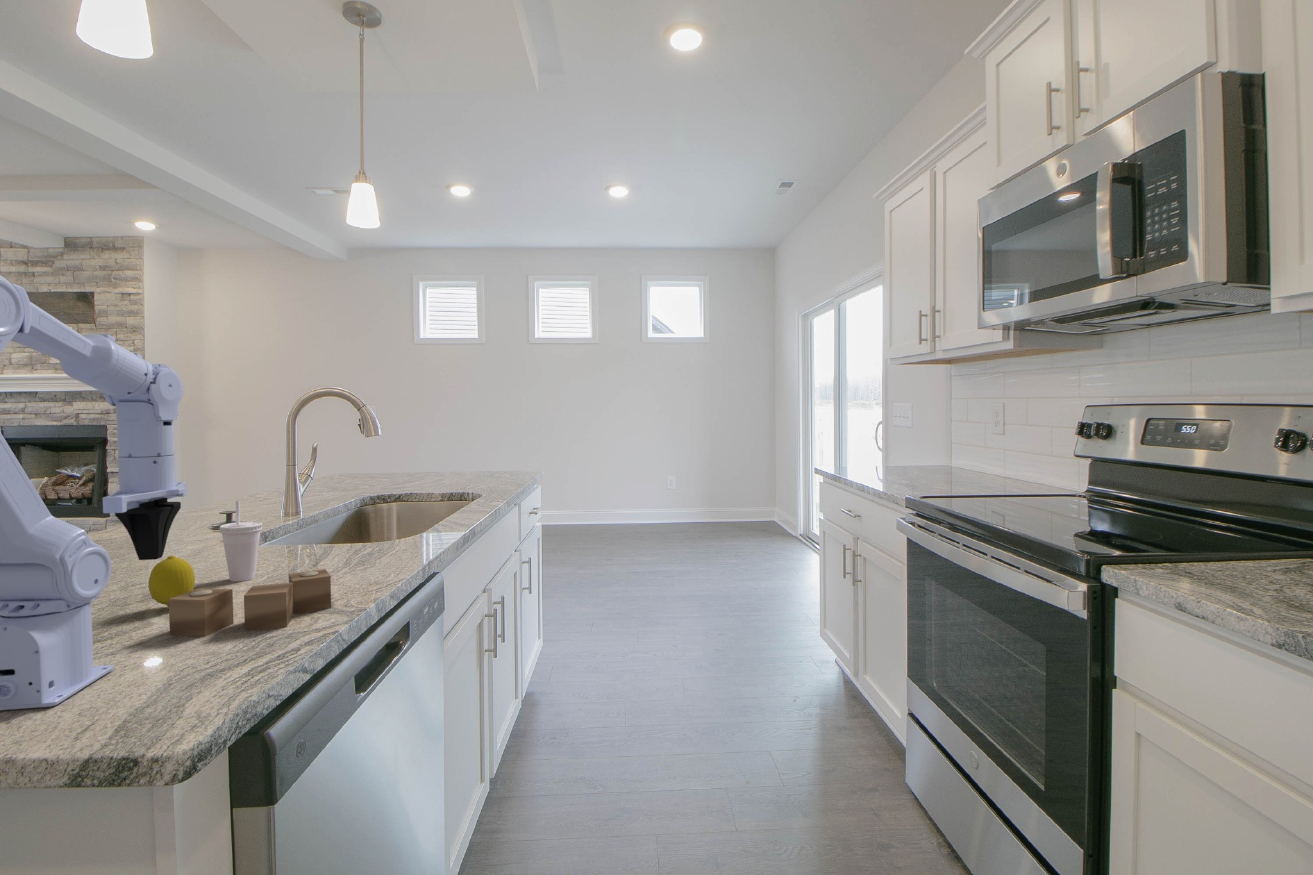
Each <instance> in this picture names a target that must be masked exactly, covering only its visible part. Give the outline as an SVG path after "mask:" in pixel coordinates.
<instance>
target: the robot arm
mask: <svg viewBox="0 0 1313 875" xmlns="http://www.w3.org/2000/svg"><path fill="white" fill-rule="evenodd" d="M11 341H12V342H15V343H17V344H19V345H22V346H24V347H26V348H29V349H31V350H34V351H35V352H38V353H41V354H43V355H45V356H48V357H51V358H53V359H55V360H58V361H59V365H60V369H61V370H62V372H63V373H64V374H65V375H67V377H70V378H72V379H73V380H76V381H78V382H80V383H83V384H85V385H87V386H89V387H91V388H92V389H95V390H97V391H99V392H101V394H102V395H103V397H104V399H105V401H106V403H108V405H110V406H111V407H115V414H116V415H115V416H116V433H117V434H116V436H117V437H116V439H117V440H116V441H117V456H118V457H117V461H118V462H117V464H118V465H117V466H118V467H117V468H118V485H119V486H118V487H119V488H118V489H119V490H117V491H116V492H114V493H111V494H110V495H106V496H103V497H102V512H103V513H102V514H114V515H115V517H116V518H117V519H118V520H119V521H120V523H121V524H122V525H123V527H124V528H125V529H126V531H127V533H128V535H129V537H130V539H131V542H132V545H133V548H134V550H135V553H136V555H137V558H138V560H139V561H150V560H151V561H152V560H159V559H162V558H163V555H164V552H165V548H166V544H167V540H168V536H169V532H170V530H171V527H172V524H173V522H174V520H175V518H176V516H177V515H178V513H179V511H180V510H181V507H182V503H181V501H168V500H170V499H173V498H177V497H179V498H183V497H185V496H187V495H188V493H187V482H185V481H184V482H176V464H175V463H176V462H175V461H176V460H175V438H174V437H175V436H174V434H175V433H174V421H176V420H177V419H178V416H179V405H180V403H181V401H182V399H183V396H184V390H185V388H184V387H185V386H183V385H182V380H181V377H180V376H179V373H178V372H177V371H176V370H174V369H173V368H171V367H170V366H168V365H166V364H162V363H150V362H149V361H148V360H146V359H144V358H143V356H142V355H141V354H139V353H137V352H131V351H130V350H128V349H126V348H125V347H123V346H121V345H119V344H118V343H116V338H115V337H113V336H112V335H110V334H107V333H105V334H104V333H88V334H83V335H82V334H81V333H79V332H77V331H76V330H75V329H73V328H72V327H70V326H68V325H67V324H65V323H64V322H62V321H60V320H59V319H58V318H56V317H54V316H53V315H51V314H50V313H48V312H47V311H45V310H44V309H43V308H41V307H39V306H37V305H36V304H34V303H33V302H31V301H30V298H29V295H28V294H27V291H26V289H25V288H24V287H22V286H20V285H17V284H15V283H12V282H10V281H9V280H8V279H6V278H5V277H3V276H2V275H0V354H1V353H2V352H3V350H4V349H5V348H6V347H7V346H8V345H9V343H11ZM111 575H112V561H111V558H110V555H109V554H108V551H107V550H106V548H104V547H103V546H101V545H100V544H98V543H96V542H95V541H92V539H90V536H89V535H88V533H87V532H86V530H84V529H83V528H80V527H78V526H76V525H74V524H71V523H69V522H67V521H64V520H62V519H60V518H57V517H55V516H53V515H52V513H51V512H50V510H49V509H48V507H47V506H46V504H45V502H44V501H43V499H42V497H41V496H40V494H39V493H38V491H37V489H36V487H35V486H34V484H33V483H32V482H31V480H30V478H29V477H28V475H27V473H26V471H25V470H24V468H23V467H22V465H21V464H20V462H19V460H18V459H17V457H16V455H15V454H14V452H13V451H12V449H11V447H10V445H9V444H8V442H7V440H6V439H5V437H4V435H3V434H2V432H1V431H0V711H8V710H21V709H34V708H35V709H36V708H47V707H49V708H50V707H53V706H56V705H58V704H60V703H62V702H63V701H65V700H66V699H68V698H70V697H71V696H73V695H74V694H76V693H78V692H79V691H81V690H83V689H85V688H86V687H87V686H88V685H90V684H92V683H94V682H95V681H97V680H98V679H100V678H101V677H103V676H104V675H106V674H108V673H110V672H112V671H113V670H114V668H115V667H114V664H108V665H107V664H106V665H104V664H103V665H94V648H93V647H94V646H93V645H94V644H93V621H92V619H93V618H92V617H93V616H92V602H94V601H97V600H98V599H99V595H100V594H102V592H103V591H104V589H105V588H106V587H107V584H108V583H109V580H110V578H111Z"/></svg>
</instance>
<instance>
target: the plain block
mask: <svg viewBox="0 0 1313 875" xmlns="http://www.w3.org/2000/svg"><path fill="white" fill-rule="evenodd" d="M243 608H244V610H243V611H244V615H243V617H244V632H250V631H260V630H270V629H279V628H288V626H289V624H290V622H291V621H292V619H293V618H294V614H293V582H292V583H289V582H281V583H272V584H257V585H252V586H251V587H250V588H249V589H248V591H247V592H246V593H245V594H244V595H243Z"/></svg>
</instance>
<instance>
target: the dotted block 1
mask: <svg viewBox="0 0 1313 875" xmlns="http://www.w3.org/2000/svg"><path fill="white" fill-rule="evenodd" d="M233 592H234V591H233V588H202V587H201V588H199V587H198V588H196V589H195V588H194V589H193V591H190V592H187V593H184V594H182V595H179V596H176V597H173V598H170V599H169V607H168V616H169V618H168V620H169V636H172V637H174V636H175V637H177V636H178V637H203V638H204V637H206V638H207V637H208V636H210V635H212V634H215V633H216V632H218V631H221V630H222V629H225V628H227V627H229V626H232V625H234V599H233V598H234V597H233V594H234V593H233Z"/></svg>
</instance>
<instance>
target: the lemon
mask: <svg viewBox="0 0 1313 875" xmlns="http://www.w3.org/2000/svg"><path fill="white" fill-rule="evenodd" d="M195 577H196V575H195V572H194V569H193V567H192V565H191V564H190V563H189V562H188V561H187V560H185V559H184V558H180V557H176V556H175V555H169V556H168V557H166V558H165V559H163V560H161V561H159V562H158V563H156V565H154V566H153V568H152V570H151V571H150V574H149V578H148V591H149V594H150V596H151V598H152V599H153V600H154V601H155V602H157V603H159V604H161V605H165V606H167V607H168V608H169V599H170V598H173V597H176V596H179V595H182V594H184V593H187V592H190V591H193V590H195V585H196V584H195V583H196V578H195Z"/></svg>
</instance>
